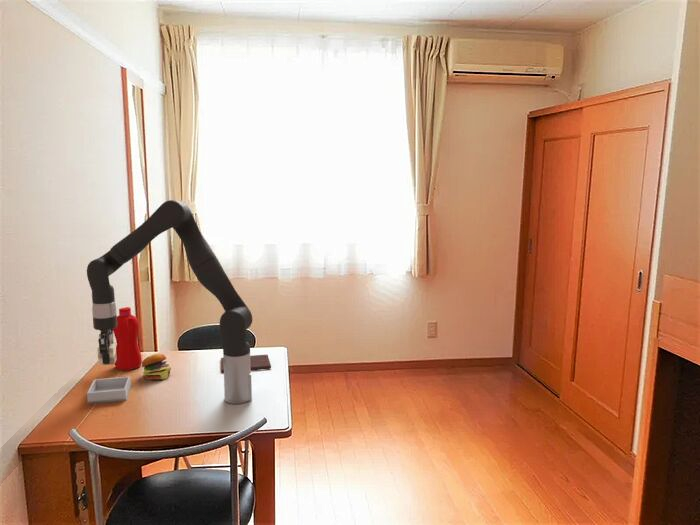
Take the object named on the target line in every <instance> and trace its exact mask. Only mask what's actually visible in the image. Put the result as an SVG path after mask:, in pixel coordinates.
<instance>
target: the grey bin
mask: <svg viewBox="0 0 700 525" xmlns="http://www.w3.org/2000/svg"><path fill="white" fill-rule="evenodd" d="M131 387H132V384H131V376H120V377H118V376H117V377H108V378H97V379H96V378H95V379H94V380H93V381H92V384H91V385H90V387H89V388H88V391H87V392H86V398H87V405H92V404H93V405H95V404H104V403H114V402H125V401H127V398H128V397H129V395H130V394H129V393H130V391H131Z"/></svg>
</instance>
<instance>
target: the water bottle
mask: <svg viewBox="0 0 700 525" xmlns="http://www.w3.org/2000/svg"><path fill="white" fill-rule="evenodd" d="M131 311H132V310H131V306H130V307H129V306H125V307H121V308H118V315H117V326H116V327H115V328H113V336H114V338H115V341H116V357H117V360H116V362H115V364H114V366H115V368H116V369H118V370H120V371H122V370H127V371H130V370H133V369H137V368H140V366H141V367H142V361H143V358H142V354H141V350H140V347H139V343H138V337H139V332H140V322H139V319H138V318H137V317H136V316H135V315H133V314H132V312H131Z"/></svg>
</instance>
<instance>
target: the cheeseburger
mask: <svg viewBox="0 0 700 525" xmlns="http://www.w3.org/2000/svg"><path fill="white" fill-rule="evenodd" d="M141 368H143V373H142V374H143V376H144V377H145V378H146V380H166V379H167V378H168V377H169V375H170V374H171V370H172V366H171V365H170V364H168V360H167V357H166V355H165V354H162V353H155V354H152V355H149V356H147V357H145V359H144V360H143V359H142V364H141Z"/></svg>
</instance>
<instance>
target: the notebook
mask: <svg viewBox="0 0 700 525" xmlns="http://www.w3.org/2000/svg"><path fill="white" fill-rule="evenodd" d="M250 367H251V370H255V371H259V370H258V369H267V370H270V369H269V368H271V369H272V365H271V362H270V358H269V355H268V354H256V355H250ZM220 370H221V371H220V372H221V374H224V361H223V357H221V358H220Z"/></svg>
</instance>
